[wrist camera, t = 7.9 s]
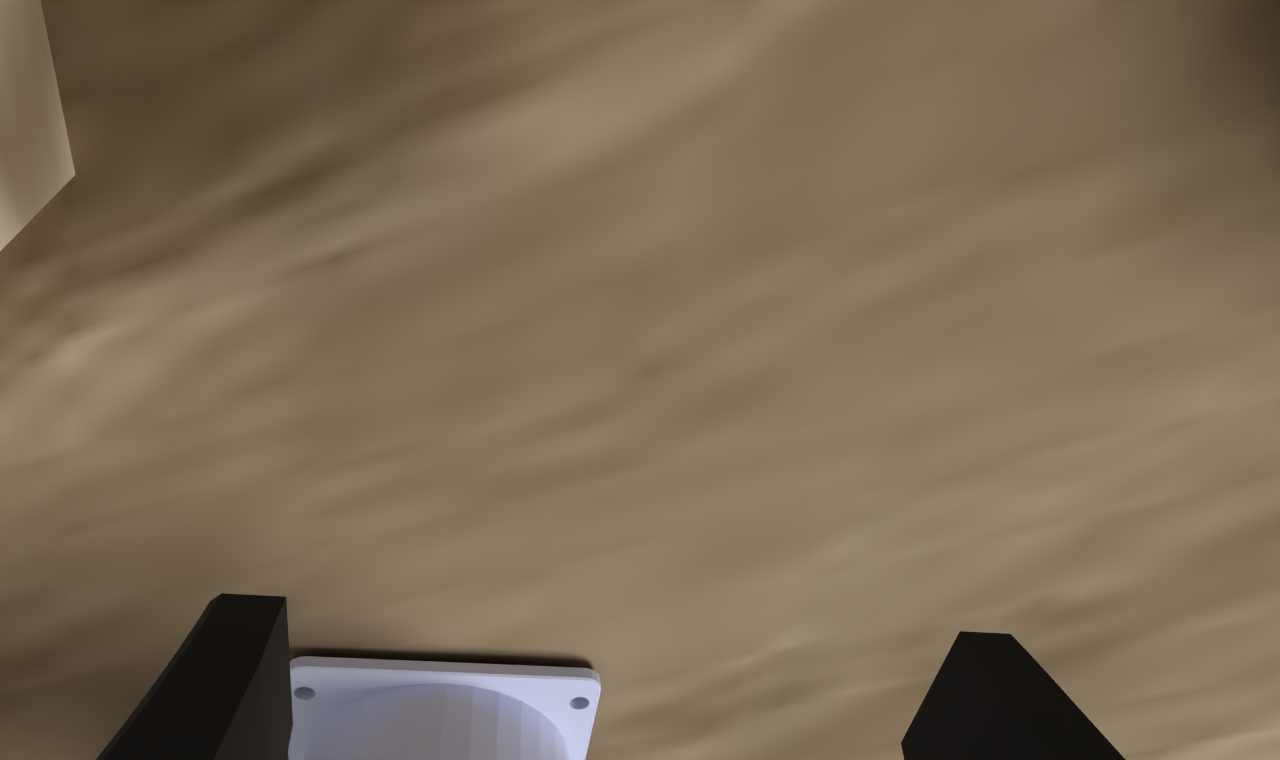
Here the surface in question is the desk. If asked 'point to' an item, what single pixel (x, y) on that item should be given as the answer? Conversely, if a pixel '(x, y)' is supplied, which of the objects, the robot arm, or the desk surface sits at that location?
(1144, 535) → the desk surface
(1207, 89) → the desk surface
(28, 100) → the birch base block
